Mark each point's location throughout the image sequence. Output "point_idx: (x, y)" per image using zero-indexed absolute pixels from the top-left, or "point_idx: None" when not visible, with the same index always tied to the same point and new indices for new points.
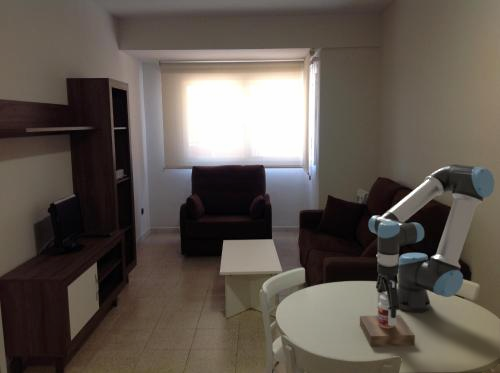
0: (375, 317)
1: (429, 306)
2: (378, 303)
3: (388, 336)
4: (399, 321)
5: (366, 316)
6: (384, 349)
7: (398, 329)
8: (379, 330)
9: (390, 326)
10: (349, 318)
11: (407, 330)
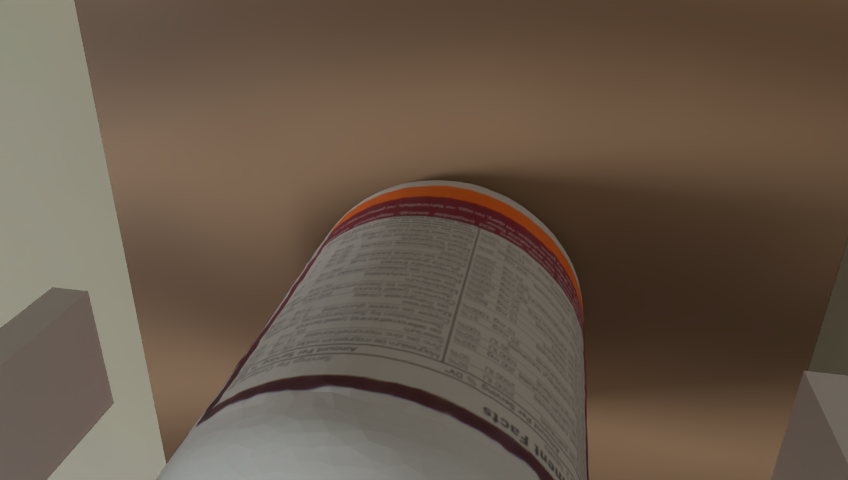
0: (200, 343)
1: None
2: (40, 476)
3: (799, 384)
4: (325, 18)
5: (178, 435)
6: (827, 369)
7: (629, 159)
8: (602, 438)
9: (581, 300)
10: (84, 446)
11: (705, 2)
